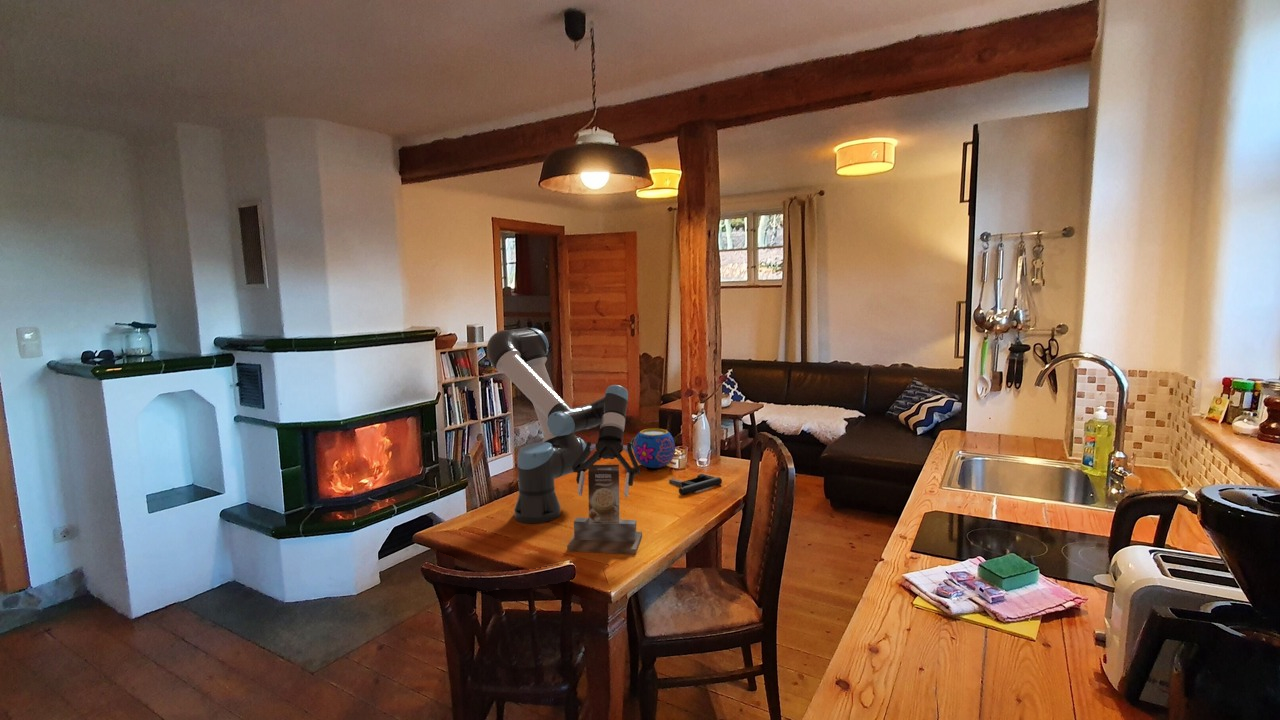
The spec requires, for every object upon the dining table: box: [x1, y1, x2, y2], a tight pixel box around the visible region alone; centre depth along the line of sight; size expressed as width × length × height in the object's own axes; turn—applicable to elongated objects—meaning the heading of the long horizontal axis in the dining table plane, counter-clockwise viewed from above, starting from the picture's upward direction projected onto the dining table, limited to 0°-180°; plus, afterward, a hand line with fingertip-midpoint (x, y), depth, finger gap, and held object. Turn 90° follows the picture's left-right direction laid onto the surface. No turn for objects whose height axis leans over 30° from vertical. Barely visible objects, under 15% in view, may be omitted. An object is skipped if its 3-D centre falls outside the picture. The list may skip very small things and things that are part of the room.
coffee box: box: [587, 464, 620, 524], centre depth 175 cm, size 9×6×16 cm
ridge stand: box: [566, 517, 643, 555], centre depth 176 cm, size 20×12×7 cm, turn 81°
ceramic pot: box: [630, 427, 676, 469], centre depth 248 cm, size 18×18×15 cm
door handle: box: [668, 473, 723, 496], centre depth 225 cm, size 3×20×16 cm
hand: (602, 494), depth 172 cm, fingers open, 13 cm apart
